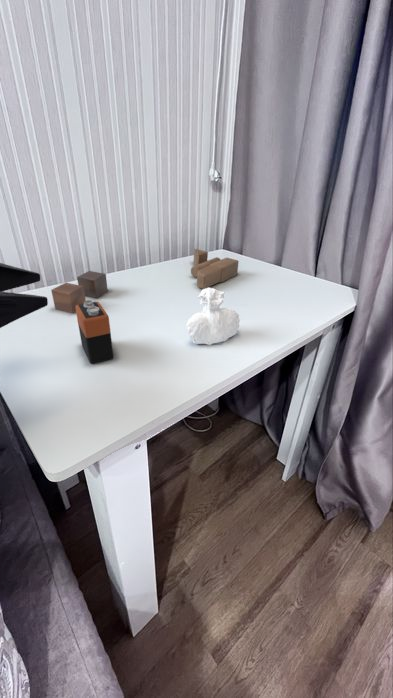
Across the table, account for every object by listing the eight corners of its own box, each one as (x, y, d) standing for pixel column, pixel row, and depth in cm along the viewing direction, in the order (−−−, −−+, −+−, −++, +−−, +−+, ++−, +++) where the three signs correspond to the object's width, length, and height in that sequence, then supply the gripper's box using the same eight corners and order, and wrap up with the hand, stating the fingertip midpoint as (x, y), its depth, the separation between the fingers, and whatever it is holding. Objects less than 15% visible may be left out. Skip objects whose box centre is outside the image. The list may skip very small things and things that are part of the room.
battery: (90, 365, 59) (82, 315, 54) (81, 347, 64) (73, 299, 59) (114, 359, 61) (108, 310, 56) (104, 342, 66) (97, 295, 61)
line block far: (96, 299, 83) (94, 280, 80) (79, 295, 84) (76, 276, 82) (107, 292, 87) (105, 273, 84) (91, 288, 88) (89, 270, 86)
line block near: (73, 314, 76) (69, 293, 73) (55, 309, 77) (51, 289, 74) (86, 305, 80) (83, 286, 77) (69, 301, 81) (65, 282, 78)
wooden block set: (241, 256, 99) (206, 271, 87) (239, 274, 102) (204, 291, 90) (196, 244, 107) (158, 257, 95) (195, 261, 110) (158, 276, 98)
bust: (233, 339, 73) (221, 290, 74) (251, 334, 66) (238, 280, 67) (184, 351, 69) (171, 298, 69) (198, 346, 62) (184, 288, 62)
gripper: (-150, 237, 28) (49, 248, 36) (-103, 201, 42) (34, 214, 49) (-115, 350, 33) (53, 339, 41) (-83, 284, 47) (38, 285, 55)
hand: (43, 288), depth 46 cm, fingers open, 9 cm apart
